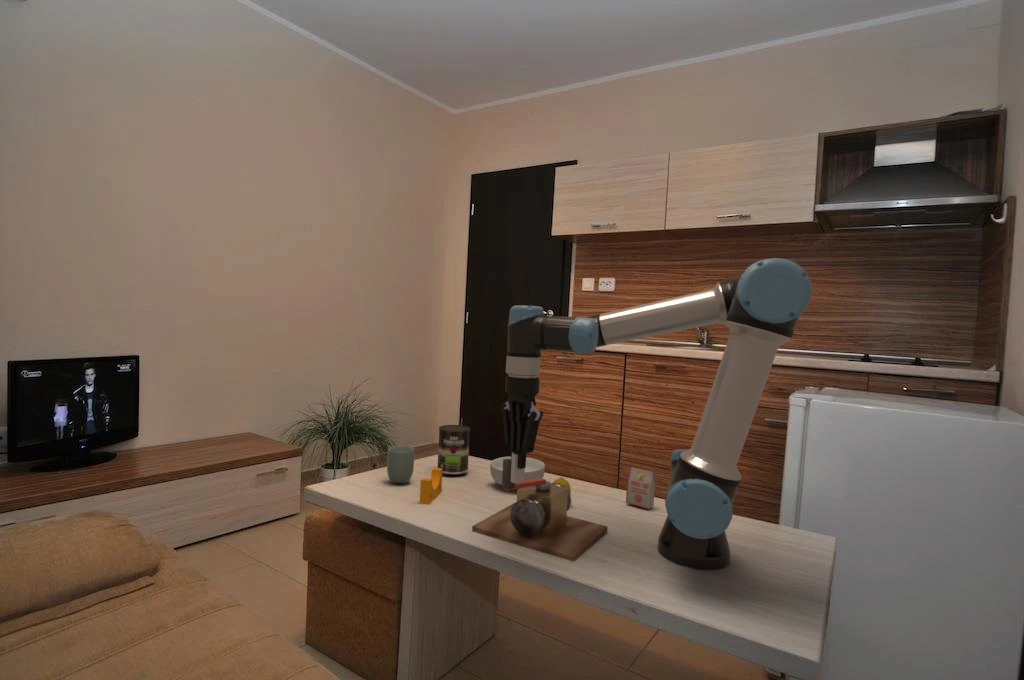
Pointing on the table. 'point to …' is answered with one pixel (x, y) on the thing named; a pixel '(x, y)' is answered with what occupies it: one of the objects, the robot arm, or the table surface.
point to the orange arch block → (431, 486)
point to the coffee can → (453, 449)
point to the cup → (400, 463)
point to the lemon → (563, 483)
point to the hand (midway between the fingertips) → (517, 481)
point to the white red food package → (640, 488)
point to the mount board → (561, 544)
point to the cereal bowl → (531, 472)
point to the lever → (508, 485)
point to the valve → (540, 510)
